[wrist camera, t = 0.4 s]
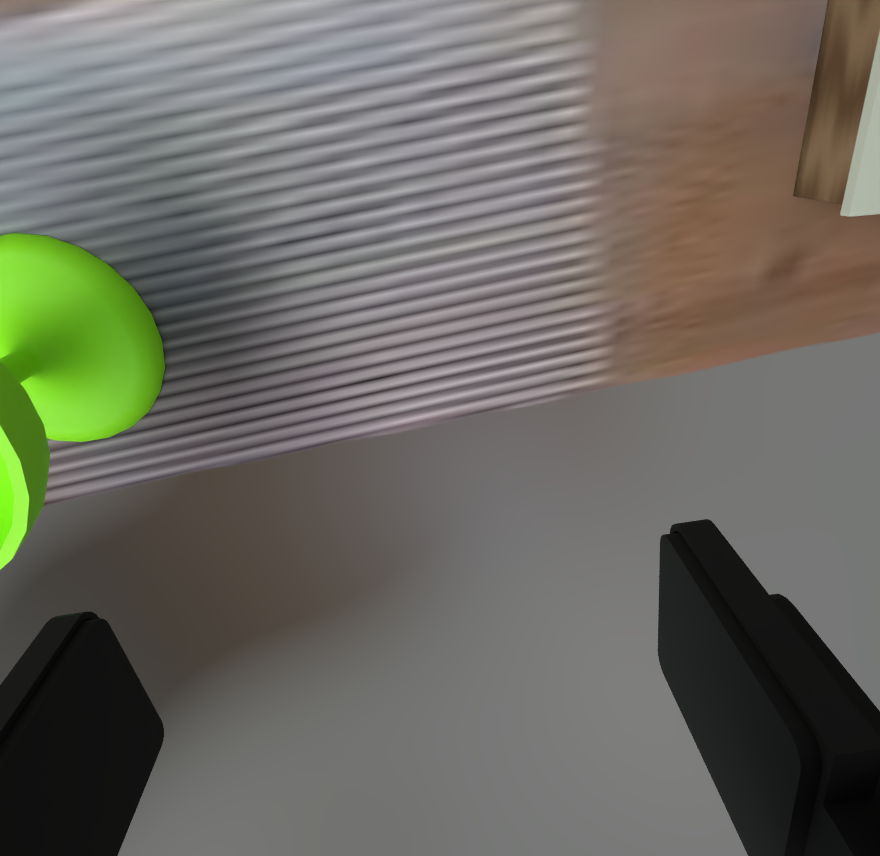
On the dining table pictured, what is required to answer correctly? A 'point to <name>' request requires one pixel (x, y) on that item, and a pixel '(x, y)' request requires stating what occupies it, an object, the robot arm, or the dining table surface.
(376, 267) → the dining table surface
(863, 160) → the lid
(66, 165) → the dining table surface
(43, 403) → the wineglass
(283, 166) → the dining table surface
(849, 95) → the walnut box
